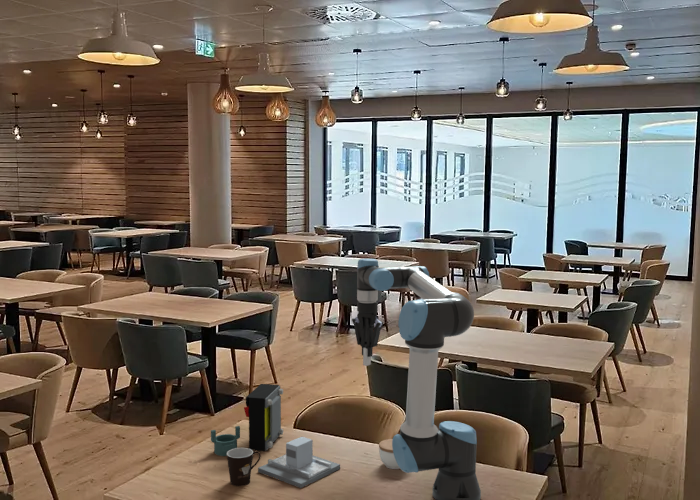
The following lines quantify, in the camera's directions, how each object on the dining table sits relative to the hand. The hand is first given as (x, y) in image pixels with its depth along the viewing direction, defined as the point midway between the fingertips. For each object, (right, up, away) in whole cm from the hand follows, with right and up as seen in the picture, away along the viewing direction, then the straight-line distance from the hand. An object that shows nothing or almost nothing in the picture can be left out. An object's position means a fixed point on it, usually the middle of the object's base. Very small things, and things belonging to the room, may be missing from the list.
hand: (367, 364), depth 254 cm
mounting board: (-24, -34, -15) cm, 44 cm away
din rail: (-24, -32, -15) cm, 43 cm away
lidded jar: (+9, -34, -11) cm, 37 cm away
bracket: (-52, -32, +1) cm, 61 cm away
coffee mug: (-41, -35, -24) cm, 59 cm away
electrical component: (-39, -32, +11) cm, 51 cm away
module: (-24, -32, -15) cm, 42 cm away
